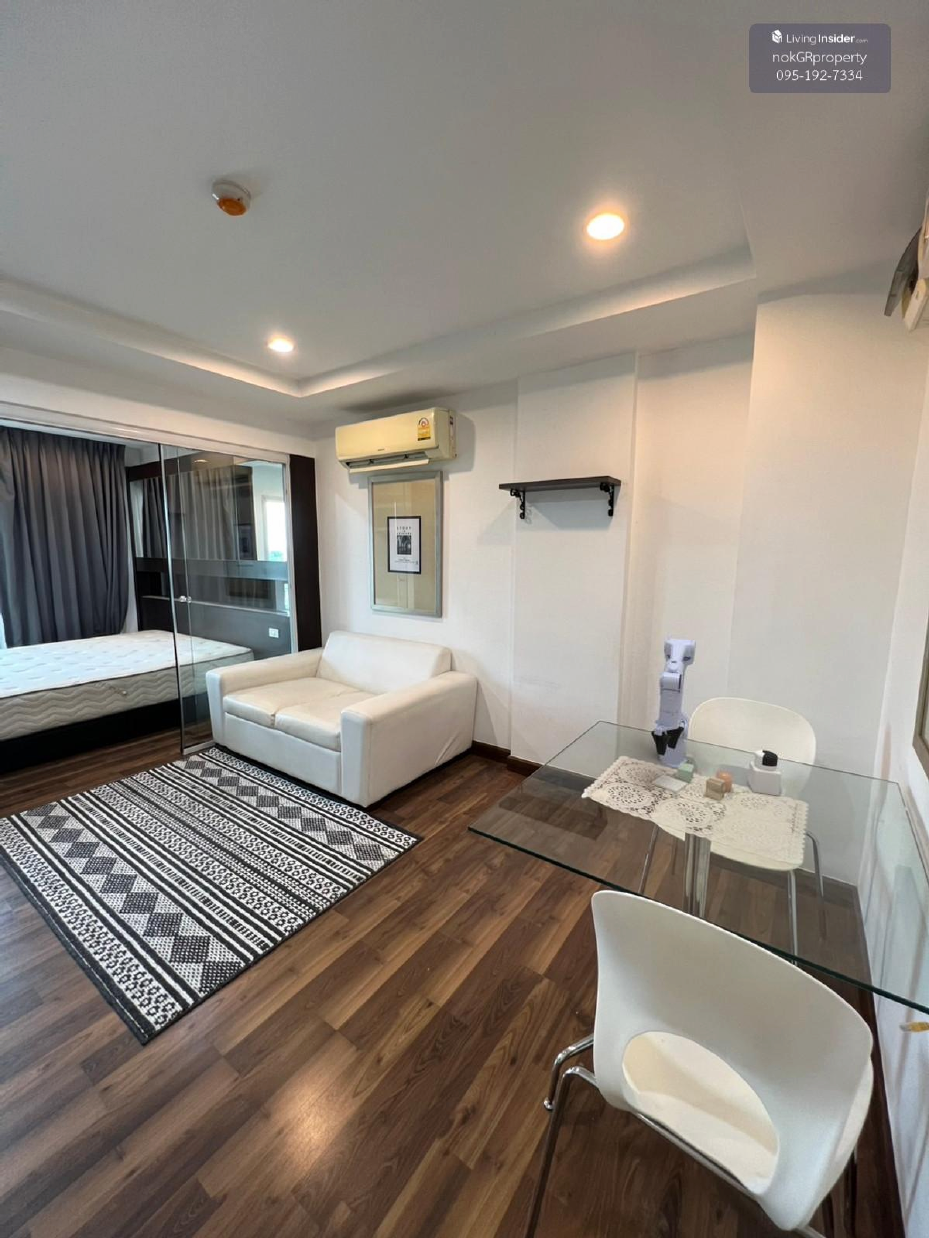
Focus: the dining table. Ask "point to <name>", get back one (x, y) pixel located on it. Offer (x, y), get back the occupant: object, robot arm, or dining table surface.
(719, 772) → the terracotta cylinder
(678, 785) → the coaster
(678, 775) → the green block
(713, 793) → the maple block
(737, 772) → the dining table surface
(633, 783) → the dining table surface
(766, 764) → the medicine bottle
